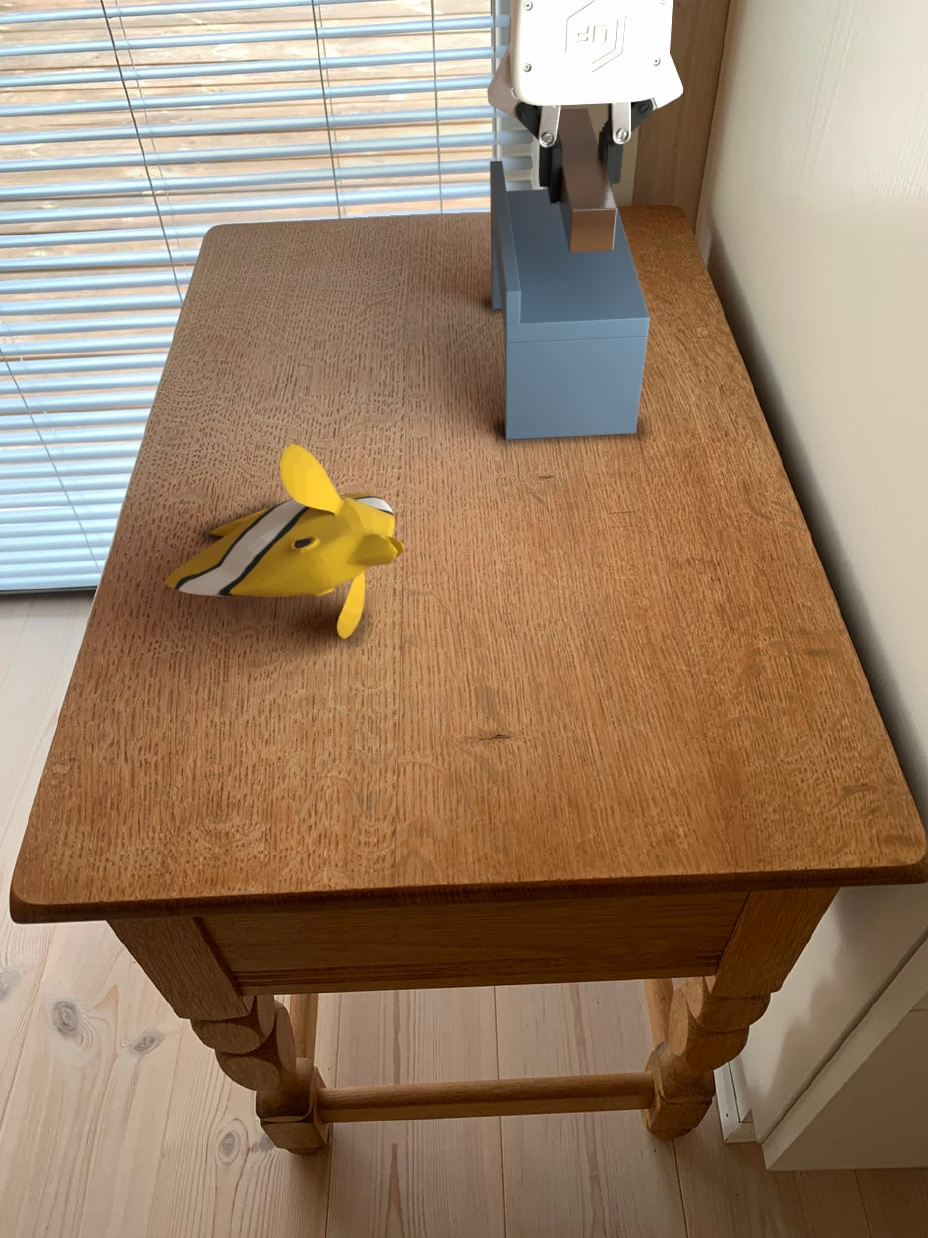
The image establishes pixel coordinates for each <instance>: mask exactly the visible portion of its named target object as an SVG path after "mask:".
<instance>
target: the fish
mask: <svg viewBox="0 0 928 1238" xmlns="http://www.w3.org/2000/svg"><path fill="white" fill-rule="evenodd" d="M279 469H280V477H281V480H282V483H283V485H284V487H285V491H286V492H287V494H288V495H289V496H290V497H291V498H290V499H288V500H285V501H283V502H280V503H278V504H275V505H272V506H270V507H268V508H265V509H261V510H258V511H256V512H253V513H251V514H248V515H246V516H243V517H241V518H238V519H236V520H233V521H231V522H228V523H226V524H224V525H221V526H219V527H217V528H215V529H213V530H211V531H210V532H209V533H208V534H209V535H212V536H218V537H222V538H220V539H218V540H217V541H216V542H214V543H211V545H209V546H208V547H206V548H205V549H204V550H202V551H200V552H199V553H198V554H196V555H195V556H194V557H192V558H191V559H189V560H188V561H187V562H185V563H184V564H182V565H181V566H180V567H178V568H176V569H175V570H174V571H173V572H172V573H171V574H170V575H168V577H166V578H165V581H164V584H165V585H166V586H167V587H169V588H171V589H173V590H176V591H179V592H182V593H187V594H191V595H192V594H193V595H198V596H211V597H213V596H214V597H256V598H268V599H269V598H270V599H274V598H284V597H293V596H302V595H303V596H304V595H306V596H307V595H308V597H310V598H318V597H321V596H324V595H327V594H329V593H331V592H334V591H335V588H336V587H338V586H341V585H343V584H345V583H348V582H350V581H352V580H353V581H352V583H351V586H350V589H349V592H348V594H347V597H346V600H345V602H344V605H343V608H342V610H341V612H340V614H339V617H338V620H337V624H336V629H337V633H338V636H340V638H342V639H343V640H345V639H347V638H348V637H350V636H351V635H352V634H353V632H354V631H355V629H356V628H357V627H358V625H359V622H360V620H361V618H362V614H363V610H364V605H365V598H366V597H365V595H366V594H365V593H366V575H365V571H367V570H368V569H370V568H372V567H375V566H383V565H390V564H392V563H393V562H394V561H395V560H396V558H398V557H400V556H401V555H403V553H404V550H405V546H404V543H403V542H401V541H400V540H399V539H397V538H395V537H393V535H394V530H395V529H394V528H395V523H396V518H395V514H394V512H393V510H392V508H391V507H390V505H389V504H388V503H387V502H386V501H385V500H384V499H383V498H381V497H380V496H378V495H376V494H373V493H367V492H359V493H357V492H356V493H348V494H340V495H339V493H338V492H337V490H336V488H335V486H334V484H333V482H332V480H331V478H330V477H329V476H328V474H327V472H326V470H325V468H324V467H323V466H322V465H321V463H320V462H319V460H318V459H317V458H316V457H315V456H314V455H313V454H312V453H311V452H309V450H307V449H305V448H304V447H303V446H301V445H299V444H292V443H291V444H290V445H288V446H287V447H286V448H285V449H283V451H282V455H281V458H280V461H279Z"/></svg>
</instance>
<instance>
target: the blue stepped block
mask: <svg viewBox="0 0 928 1238" xmlns="http://www.w3.org/2000/svg"><path fill="white" fill-rule="evenodd" d="M503 162H504V161H503V160H489V186H490V188H489V190H490V191H489V192H490V195H489V196H490V274H491V275H490V276H491V277H490V278H491V280H490V281H491V307H492V310H501V312H502V320H503V321H502V322H503V330H504V435H505V440H527V439H529V440H530V439H549V438H550V439H551V438H568V437H588V436H590V437H591V436H609V435H612V436H613V435H630V434H631V435H632V434H634V435H635V434H636V433H637V426H638V417H639V409H640V402H641V393H642V386H643V379H644V378H643V377H644V371H645V370H644V369H645V361H646V353H647V345H648V338H649V337H648V336H649V328H650V322H651V321H650V320H651V317H650V315H649V311H648V308H647V307H648V306H647V303H646V301H645V298H644V294H643V290H642V287H641V283H640V280H639V277H638V274H637V270H636V267H635V263H634V260H633V256H632V253H631V250H630V247H629V243H628V239H627V236H626V233H625V229H624V226H623V221H622V219H621V216H620V212H619V209H618V205H617V201H616V198H615V195H614V191H613V190H612V193H613V197H614V200H615V203H616V207H617V215H616V226H615V237H614V248H613V251H594V252H573V253H570V252H569V248H568V244H567V239H566V234H565V230H564V225H563V220H562V216H561V211H560V206H559V202H558V203H557V204H550V199H549V194H548V189H547V188H543V189H520V190H507V184H506V178H505V177H506V176H505V171H504V164H503Z"/></svg>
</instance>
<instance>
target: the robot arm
mask: <svg viewBox="0 0 928 1238" xmlns="http://www.w3.org/2000/svg"><path fill="white" fill-rule="evenodd" d="M673 3H674V0H510V9H509V25H508V26H509V29H508V46H507V48H506V50H505V52H504V54H503V56H502V58H501V60H500V63H499V64H498V67H497V68H496V71H495V73H494V74H493V77H492V79H491V81H490V83H489V84H488V88H487V90H486V93H487V102H488V103H489V105H490V106H491V107H493V108H496V109H497V110H500V111H501V112H503V113H505V114H507V115H509V116H511V117H514V118H516V119H517V120H518V122H519V123H521V124H522V126H523V127H525V128H526V129H527V131H528V132H529V133H531V135H533V136H534V137H535V138H536V140H537V141H538V143H539V149H538V184H539V185H538V186H539V187H540V188H546V189H548V194H549V199H550V204H557V203H558V201H560V184H561V166H562V159H563V148H562V144H561V139H560V135H559V131H558V121H559V113H560V110H561V106H572V105H573V106H574V105H576V106H577V105H595V104H596V105H597V104H598V105H599V104H606V108H607V109H606V110H607V111H606V112H607V116H606V117H607V121H605V122H604V123H603V126H602V127H601V130H599V132H598V146H599V150H600V153H601V156H602V160H603V163H604V166H605V169H606V173H607V176H608V180H609V183H610V186H611V190H612V191H613V185H614V184H616V185H617V184H621V178H622V167H623V157H624V147H625V146H624V145H625V144H626V143H627V142H628V141H629V140H630V138H631V134H632V133H633V132H634V131H635V130H637V128H638V127H639V126H640V125H641V124H642V123H643V122H644V121H646V119H647V118H648V117H650V116H651V114H652V113H653V111H655V110H659V109H660V108H662V107H664V106H666V105H668V104H669V103H671V102H672V101H674V100H677V99H678V98H680V97H681V95H682V94H683V90H684V87H683V84H682V82H681V79H680V77H679V74H678V71H677V69H676V66H675V64H674V61H673V59H672V55H671V53H670V51H671V39H672V36H671V35H672V23H673V22H672V21H673V19H672V18H673V6H674V5H673Z"/></svg>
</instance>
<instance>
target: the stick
mask: <svg viewBox="0 0 928 1238" xmlns="http://www.w3.org/2000/svg"><path fill="white" fill-rule="evenodd" d="M590 115H591V114H590V112H589V109H588V108H564V109H563V108H562V109H561V108H560V113H559V121H558V131H559V135H560V139H561V144H562V148H563V159H562V166H561V184H560V201H558V202H559V206H560V211H561V216H562V220H563V225H564V230H565V234H566V239H567V244H568V248H569V252H570V253H573V252H594V251H613V248H614V237H615V226H616V215H617V208H618V206H617V207H616V205H617V202H616V199H615V200H614V198H615V196H614V197H613V195H614V192H613V193H612V191H613V189H612V190H611V186H610V183H609V180H608V176H607V173H606V169H605V166H604V163H603V160H602V156H601V153H600V150H599V146H598V143H599V141H598V139H597V137H596V136H597V135H596V132H595V129H594V125H593V122H592V117H591V116H590ZM615 202H616V203H615Z"/></svg>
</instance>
